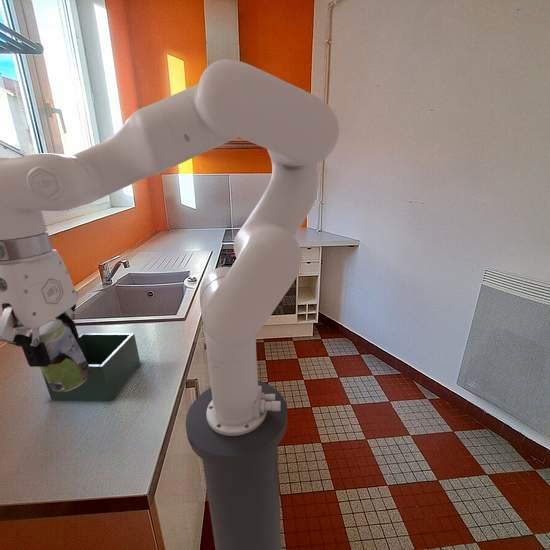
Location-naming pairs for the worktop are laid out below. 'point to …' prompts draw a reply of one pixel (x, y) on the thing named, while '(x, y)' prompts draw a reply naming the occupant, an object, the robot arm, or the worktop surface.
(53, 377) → the beverage can
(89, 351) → the waste bin
